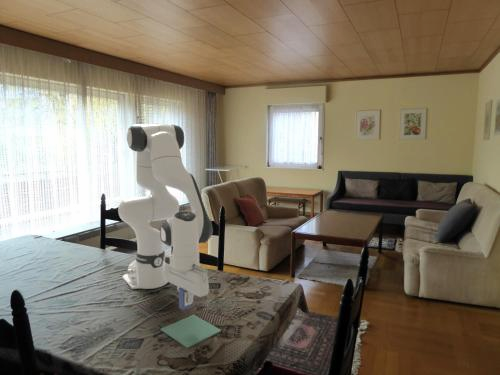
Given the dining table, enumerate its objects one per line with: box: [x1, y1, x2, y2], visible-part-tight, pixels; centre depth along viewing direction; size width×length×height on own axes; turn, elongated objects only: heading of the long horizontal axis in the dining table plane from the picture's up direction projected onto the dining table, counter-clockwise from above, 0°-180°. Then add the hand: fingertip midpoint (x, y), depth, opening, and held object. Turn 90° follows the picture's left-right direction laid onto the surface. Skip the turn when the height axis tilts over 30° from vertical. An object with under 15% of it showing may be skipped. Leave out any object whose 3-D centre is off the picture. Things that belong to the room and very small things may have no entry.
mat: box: [159, 314, 222, 349], centre depth 122 cm, size 15×14×1 cm
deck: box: [178, 288, 194, 311], centre depth 122 cm, size 4×2×7 cm, turn 136°
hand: (186, 300), depth 123 cm, fingers closed on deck, 2 cm apart
